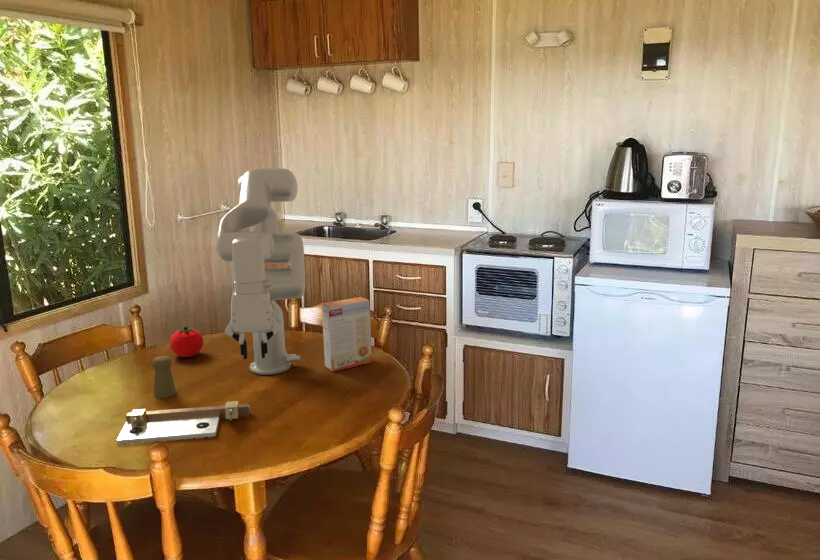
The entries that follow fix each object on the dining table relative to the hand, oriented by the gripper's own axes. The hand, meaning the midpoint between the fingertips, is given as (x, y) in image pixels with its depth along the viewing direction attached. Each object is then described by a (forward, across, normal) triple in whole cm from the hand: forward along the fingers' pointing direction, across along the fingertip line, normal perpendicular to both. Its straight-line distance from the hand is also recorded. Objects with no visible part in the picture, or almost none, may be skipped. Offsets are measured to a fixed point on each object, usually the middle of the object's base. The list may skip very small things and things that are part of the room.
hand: (254, 356), depth 174 cm
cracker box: (+17, -26, -35) cm, 47 cm away
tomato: (+17, +25, -53) cm, 61 cm away
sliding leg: (+16, +7, +1) cm, 17 cm away
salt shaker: (+17, +27, -22) cm, 39 cm away
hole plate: (+17, +18, +1) cm, 25 cm away
